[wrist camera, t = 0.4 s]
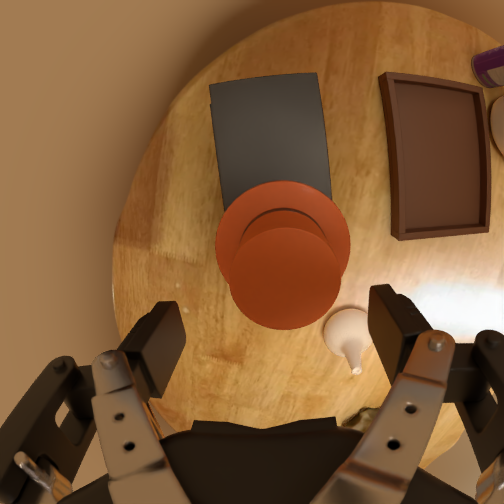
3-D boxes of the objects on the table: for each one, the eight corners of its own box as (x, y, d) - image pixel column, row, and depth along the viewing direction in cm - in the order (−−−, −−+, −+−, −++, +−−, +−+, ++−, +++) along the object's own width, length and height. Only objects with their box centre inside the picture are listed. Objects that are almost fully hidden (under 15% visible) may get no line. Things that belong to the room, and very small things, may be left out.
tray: (378, 76, 24) (385, 71, 22) (472, 90, 22) (482, 87, 20) (391, 235, 29) (398, 241, 27) (478, 227, 28) (489, 232, 26)
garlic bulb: (379, 313, 33) (400, 352, 25) (354, 350, 35) (367, 393, 27) (337, 297, 32) (352, 336, 25) (313, 337, 34) (320, 381, 27)
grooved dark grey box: (230, 109, 26) (204, 85, 16) (302, 101, 26) (316, 72, 15) (248, 240, 31) (233, 285, 21) (315, 234, 30) (335, 276, 20)
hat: (207, 188, 18) (180, 203, 13) (345, 175, 17) (372, 184, 12) (227, 310, 21) (213, 357, 16) (348, 299, 20) (367, 345, 15)
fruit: (339, 432, 43) (335, 465, 35) (349, 398, 40) (348, 433, 33) (386, 433, 40) (388, 466, 33) (401, 399, 38) (407, 433, 30)
